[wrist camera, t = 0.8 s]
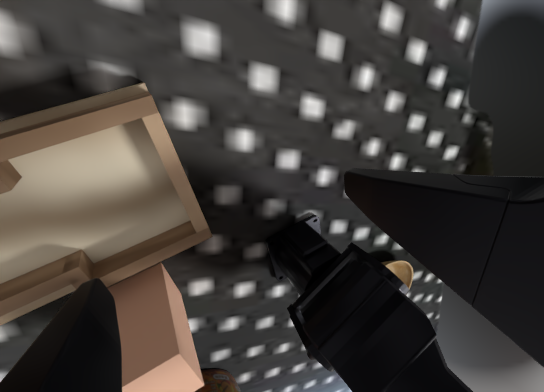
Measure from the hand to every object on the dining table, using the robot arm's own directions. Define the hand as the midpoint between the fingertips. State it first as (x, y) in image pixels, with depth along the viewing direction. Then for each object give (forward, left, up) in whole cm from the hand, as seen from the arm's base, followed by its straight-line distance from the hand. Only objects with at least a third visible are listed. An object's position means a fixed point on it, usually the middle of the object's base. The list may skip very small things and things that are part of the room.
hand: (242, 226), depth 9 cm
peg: (-12, +8, -13) cm, 19 cm away
